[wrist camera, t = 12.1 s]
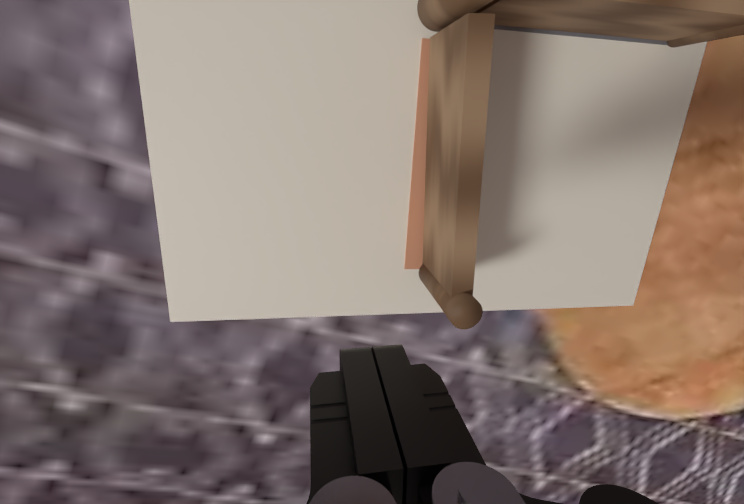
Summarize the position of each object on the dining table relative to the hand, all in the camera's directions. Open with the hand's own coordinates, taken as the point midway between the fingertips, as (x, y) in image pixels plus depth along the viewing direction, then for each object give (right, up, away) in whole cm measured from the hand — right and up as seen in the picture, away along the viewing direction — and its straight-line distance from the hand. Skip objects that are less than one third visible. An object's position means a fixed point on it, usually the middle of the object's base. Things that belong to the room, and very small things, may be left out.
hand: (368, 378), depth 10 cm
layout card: (+4, +10, +15) cm, 19 cm away
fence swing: (+4, +8, +15) cm, 17 cm away
